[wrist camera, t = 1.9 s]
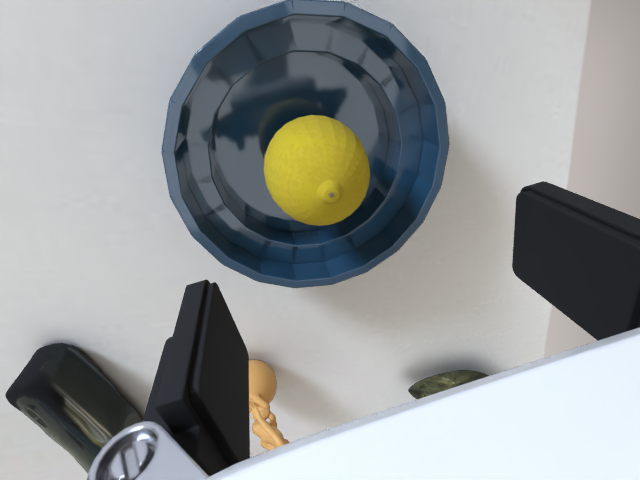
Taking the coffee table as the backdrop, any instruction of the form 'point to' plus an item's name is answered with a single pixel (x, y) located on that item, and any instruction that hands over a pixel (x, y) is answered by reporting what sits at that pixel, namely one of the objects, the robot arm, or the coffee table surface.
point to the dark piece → (71, 401)
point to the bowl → (286, 105)
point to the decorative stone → (443, 382)
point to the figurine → (263, 404)
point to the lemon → (316, 170)
